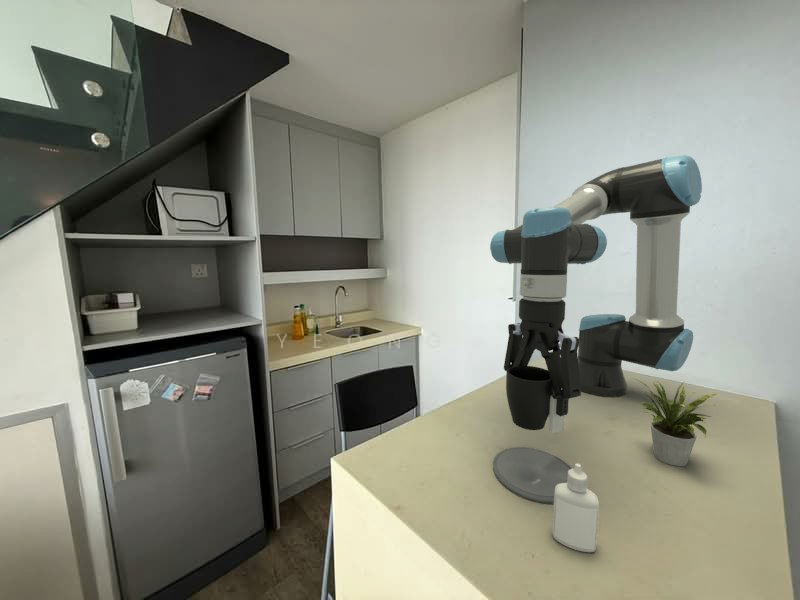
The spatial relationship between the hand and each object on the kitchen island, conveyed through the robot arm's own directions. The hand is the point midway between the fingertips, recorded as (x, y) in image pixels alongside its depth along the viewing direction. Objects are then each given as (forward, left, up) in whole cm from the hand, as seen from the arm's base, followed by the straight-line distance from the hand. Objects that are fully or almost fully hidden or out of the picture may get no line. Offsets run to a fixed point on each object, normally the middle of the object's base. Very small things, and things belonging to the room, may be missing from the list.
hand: (536, 419), depth 59 cm
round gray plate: (0, 0, -11) cm, 11 cm away
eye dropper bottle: (+6, +13, -11) cm, 18 cm away
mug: (0, 0, 0) cm, 0 cm away
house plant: (-28, +7, -11) cm, 31 cm away
